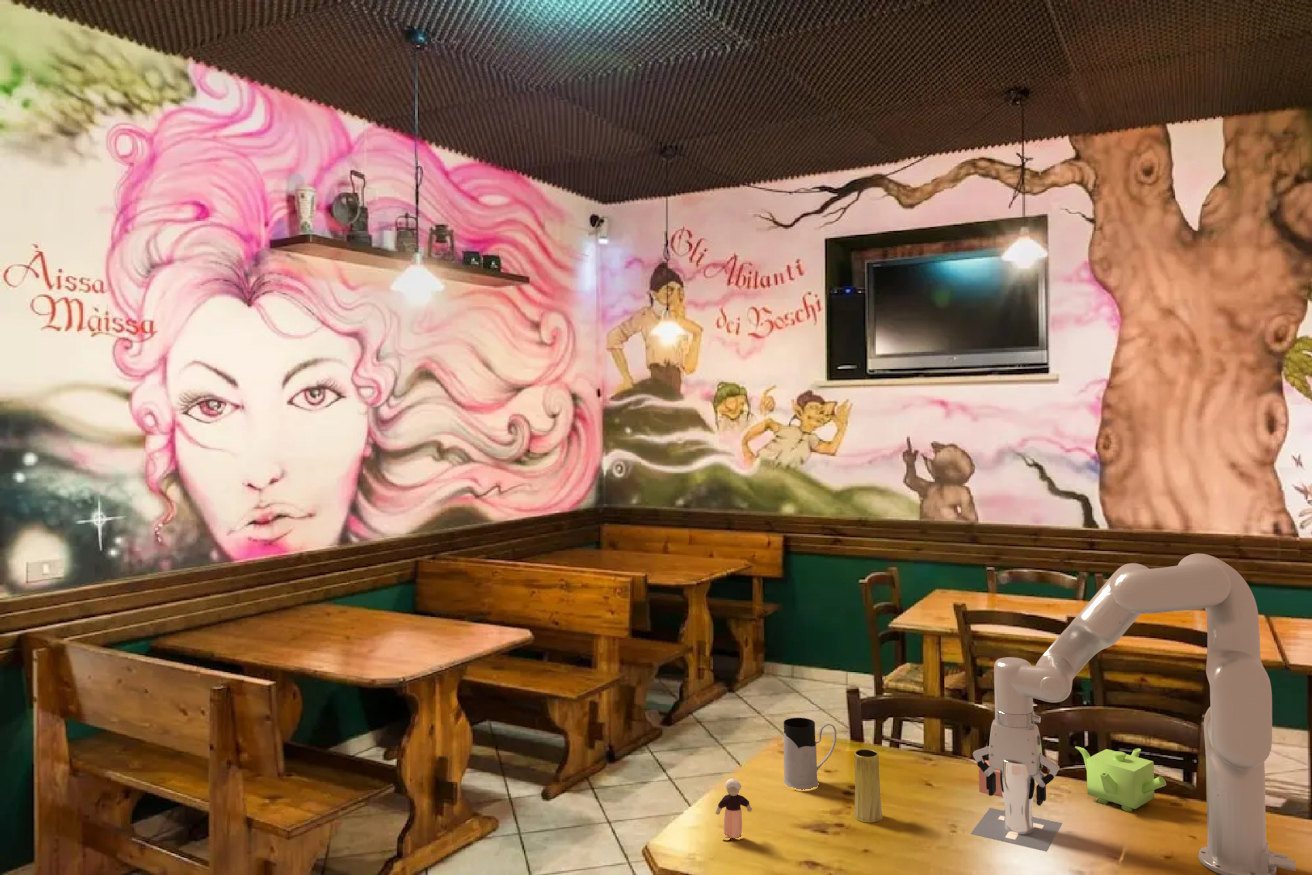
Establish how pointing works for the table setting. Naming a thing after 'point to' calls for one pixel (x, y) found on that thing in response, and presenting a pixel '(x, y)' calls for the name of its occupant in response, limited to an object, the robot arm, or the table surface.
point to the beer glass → (1017, 798)
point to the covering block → (983, 782)
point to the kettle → (1121, 778)
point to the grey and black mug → (802, 753)
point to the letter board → (1037, 840)
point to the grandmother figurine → (733, 809)
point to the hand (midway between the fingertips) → (1016, 798)
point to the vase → (867, 786)
